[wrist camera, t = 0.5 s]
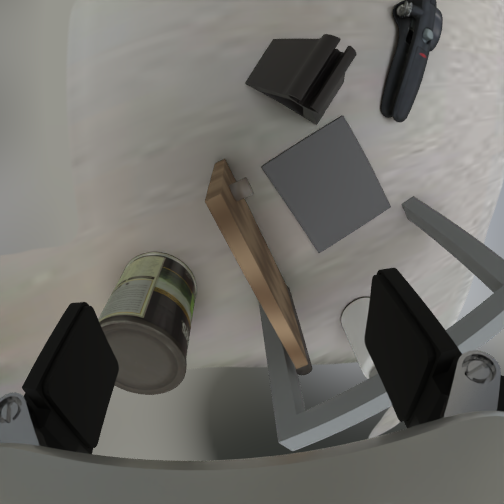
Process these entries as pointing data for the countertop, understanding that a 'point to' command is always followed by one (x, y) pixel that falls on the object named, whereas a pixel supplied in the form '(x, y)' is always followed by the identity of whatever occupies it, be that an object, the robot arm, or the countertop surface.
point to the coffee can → (150, 323)
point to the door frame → (372, 390)
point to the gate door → (256, 260)
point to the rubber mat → (328, 184)
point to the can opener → (410, 54)
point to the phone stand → (302, 73)
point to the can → (358, 333)
